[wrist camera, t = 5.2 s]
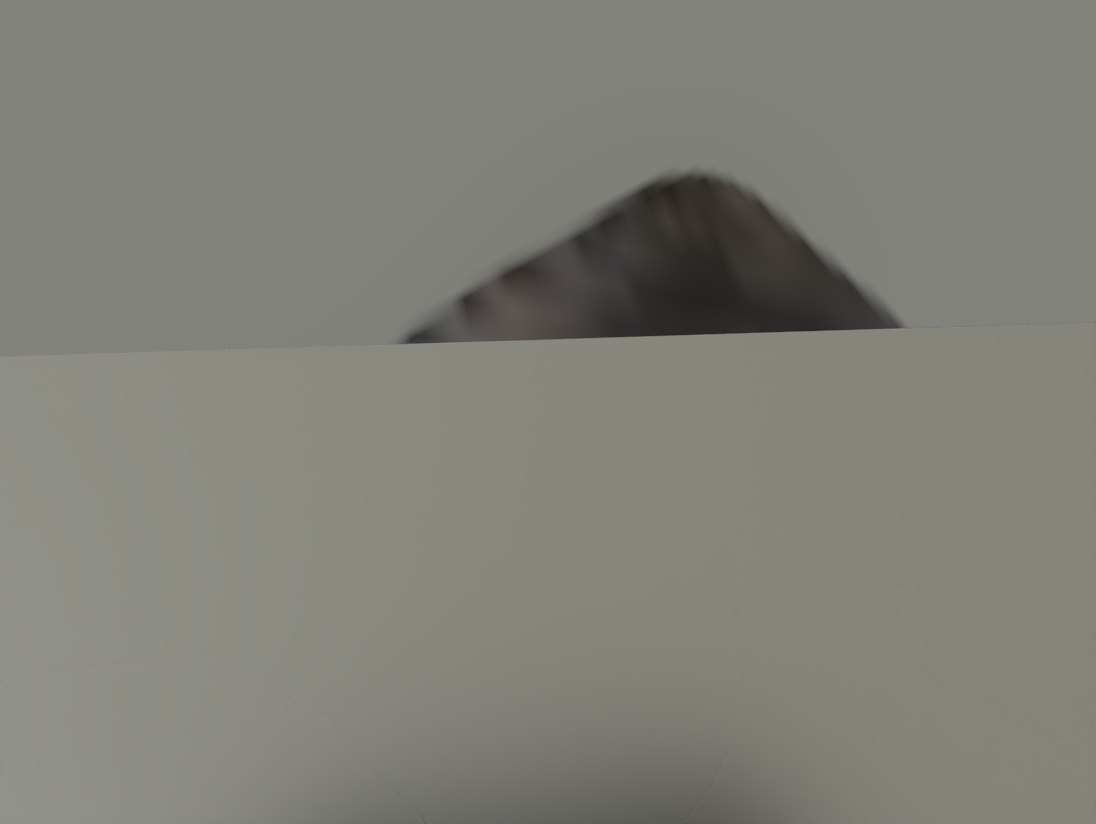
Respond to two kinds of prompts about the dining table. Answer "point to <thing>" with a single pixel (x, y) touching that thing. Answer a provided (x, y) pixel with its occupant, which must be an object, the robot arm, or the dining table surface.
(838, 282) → the dining table surface
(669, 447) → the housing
